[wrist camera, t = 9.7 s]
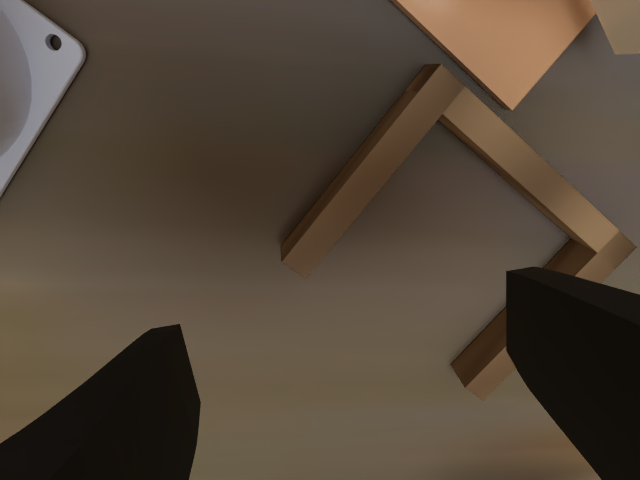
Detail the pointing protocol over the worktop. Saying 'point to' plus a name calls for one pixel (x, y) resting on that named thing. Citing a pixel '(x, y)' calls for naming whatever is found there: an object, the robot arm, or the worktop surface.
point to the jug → (620, 24)
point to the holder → (498, 152)
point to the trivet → (501, 38)
